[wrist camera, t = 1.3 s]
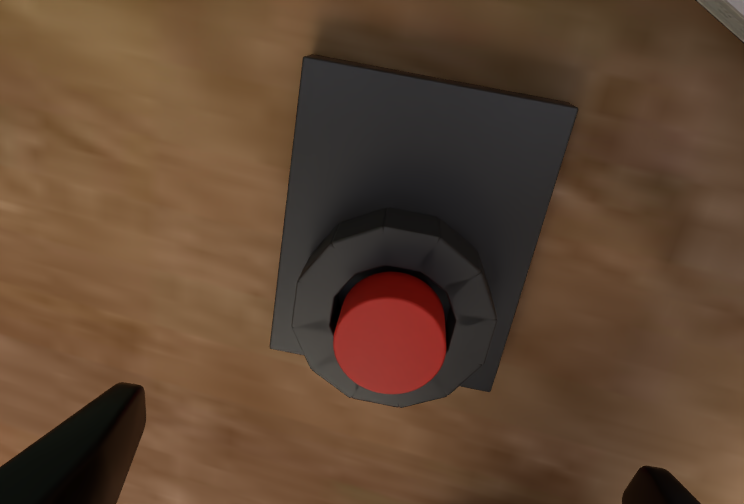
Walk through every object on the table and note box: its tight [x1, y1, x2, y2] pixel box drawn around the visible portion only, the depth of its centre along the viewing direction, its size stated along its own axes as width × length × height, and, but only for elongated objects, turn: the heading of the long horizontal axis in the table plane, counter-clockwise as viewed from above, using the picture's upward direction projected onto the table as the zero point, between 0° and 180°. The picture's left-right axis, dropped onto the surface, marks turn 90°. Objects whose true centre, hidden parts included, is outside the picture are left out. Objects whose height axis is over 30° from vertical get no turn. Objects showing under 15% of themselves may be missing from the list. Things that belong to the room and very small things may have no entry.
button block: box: [270, 54, 578, 408], centre depth 17 cm, size 10×8×3 cm
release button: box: [333, 272, 446, 394], centre depth 16 cm, size 3×3×2 cm
